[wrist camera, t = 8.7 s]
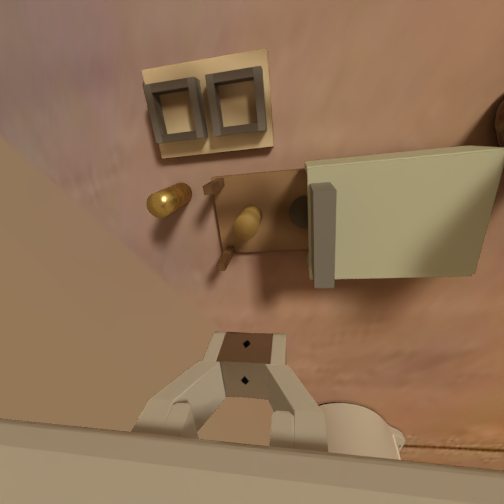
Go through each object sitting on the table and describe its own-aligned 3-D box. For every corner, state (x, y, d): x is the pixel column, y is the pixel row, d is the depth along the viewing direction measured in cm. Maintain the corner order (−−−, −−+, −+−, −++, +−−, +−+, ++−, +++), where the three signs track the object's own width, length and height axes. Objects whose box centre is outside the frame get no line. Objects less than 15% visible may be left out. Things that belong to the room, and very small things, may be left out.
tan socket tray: (274, 145, 27) (272, 146, 25) (166, 157, 29) (155, 159, 27) (267, 51, 24) (265, 42, 21) (147, 72, 26) (133, 66, 23)
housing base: (341, 245, 30) (351, 267, 25) (224, 250, 33) (212, 271, 28) (343, 164, 27) (356, 171, 22) (213, 176, 29) (196, 185, 24)
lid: (447, 252, 28) (509, 299, 20) (306, 257, 30) (312, 301, 22) (469, 145, 23) (560, 150, 16) (304, 161, 26) (310, 173, 18)
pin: (194, 202, 31) (172, 217, 25) (174, 204, 31) (150, 218, 26) (189, 181, 30) (167, 192, 24) (170, 183, 30) (143, 194, 25)
